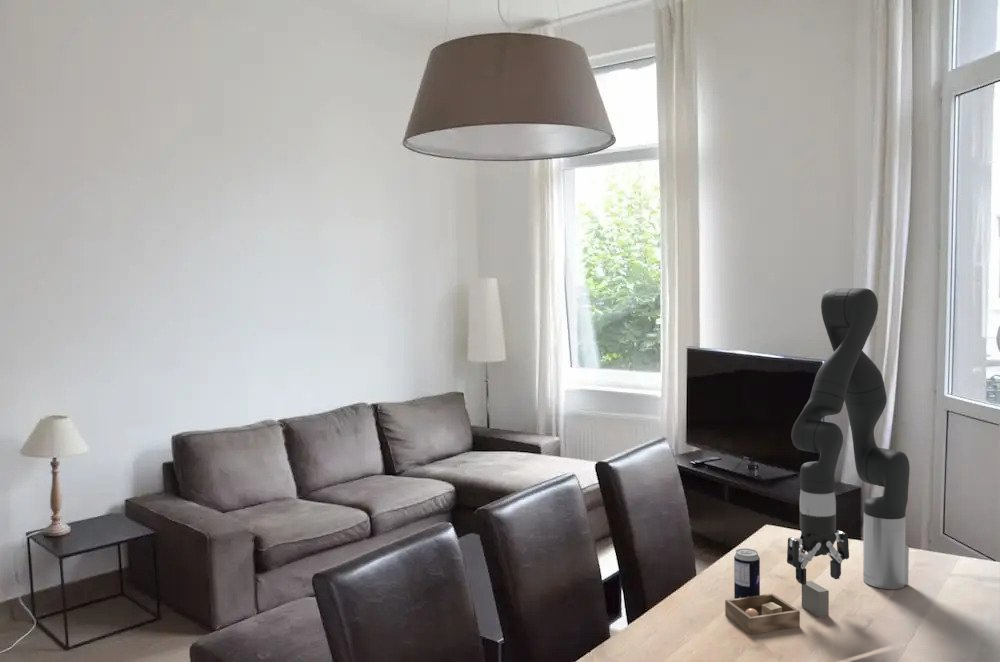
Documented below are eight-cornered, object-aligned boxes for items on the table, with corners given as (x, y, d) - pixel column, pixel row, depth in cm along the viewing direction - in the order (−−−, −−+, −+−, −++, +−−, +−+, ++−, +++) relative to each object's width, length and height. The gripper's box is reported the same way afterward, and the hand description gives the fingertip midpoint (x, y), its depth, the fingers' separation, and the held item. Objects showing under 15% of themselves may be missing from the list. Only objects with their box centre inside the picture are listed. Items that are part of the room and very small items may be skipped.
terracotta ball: (753, 618, 173) (753, 605, 173) (761, 624, 170) (761, 610, 170) (741, 620, 173) (741, 607, 172) (749, 625, 170) (749, 612, 170)
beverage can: (761, 608, 180) (761, 556, 179) (735, 606, 181) (735, 555, 180) (758, 598, 186) (758, 548, 185) (733, 596, 187) (733, 547, 186)
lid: (823, 603, 183) (823, 574, 183) (854, 621, 173) (854, 591, 173) (776, 610, 180) (776, 581, 179) (806, 629, 170) (806, 598, 169)
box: (772, 610, 179) (772, 593, 178) (799, 629, 169) (799, 611, 169) (725, 617, 176) (725, 600, 175) (750, 636, 166) (750, 618, 166)
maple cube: (772, 615, 175) (772, 602, 175) (782, 620, 172) (782, 607, 172) (761, 617, 174) (761, 604, 173) (771, 623, 171) (771, 609, 171)
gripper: (834, 501, 179) (834, 570, 181) (779, 508, 176) (780, 579, 177) (856, 510, 172) (857, 582, 173) (800, 518, 169) (801, 591, 170)
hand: (818, 580), depth 175 cm, fingers open, 8 cm apart
